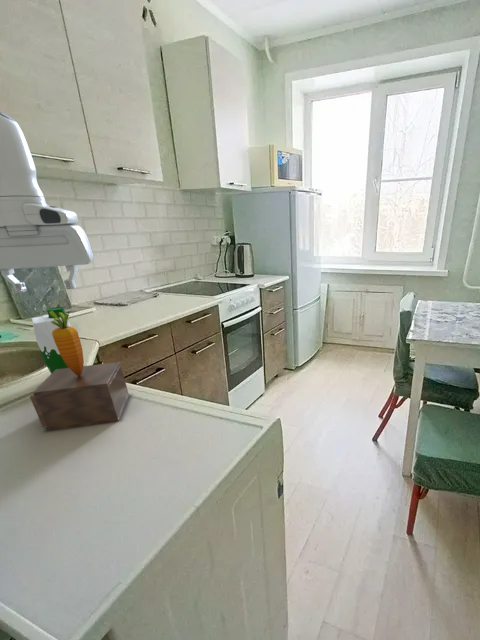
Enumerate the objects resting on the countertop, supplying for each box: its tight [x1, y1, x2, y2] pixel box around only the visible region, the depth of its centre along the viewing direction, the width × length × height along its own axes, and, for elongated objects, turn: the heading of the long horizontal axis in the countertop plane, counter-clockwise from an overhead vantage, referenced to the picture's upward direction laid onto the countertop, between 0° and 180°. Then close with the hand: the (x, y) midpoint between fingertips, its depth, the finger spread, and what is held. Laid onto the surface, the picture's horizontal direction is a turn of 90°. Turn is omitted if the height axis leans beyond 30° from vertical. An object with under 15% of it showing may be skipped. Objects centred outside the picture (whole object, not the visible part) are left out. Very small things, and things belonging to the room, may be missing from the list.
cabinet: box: [32, 361, 130, 432], centre depth 82 cm, size 15×13×10 cm
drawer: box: [29, 392, 47, 428], centre depth 82 cm, size 15×11×8 cm
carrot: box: [49, 311, 85, 376], centre depth 77 cm, size 5×5×15 cm
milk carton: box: [31, 306, 71, 375], centre depth 100 cm, size 9×9×20 cm
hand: (46, 290), depth 72 cm, fingers open, 8 cm apart
